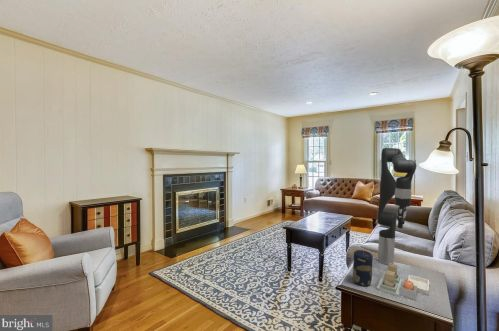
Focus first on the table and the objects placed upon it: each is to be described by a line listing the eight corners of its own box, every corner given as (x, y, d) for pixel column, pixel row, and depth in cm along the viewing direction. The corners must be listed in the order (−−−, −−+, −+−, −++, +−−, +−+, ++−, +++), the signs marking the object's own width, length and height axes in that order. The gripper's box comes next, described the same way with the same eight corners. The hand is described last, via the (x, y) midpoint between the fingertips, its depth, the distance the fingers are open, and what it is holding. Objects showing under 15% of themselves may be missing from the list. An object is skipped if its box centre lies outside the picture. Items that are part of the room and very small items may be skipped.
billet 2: (385, 284, 132) (386, 270, 132) (394, 287, 130) (394, 272, 129) (384, 287, 129) (385, 273, 129) (392, 290, 127) (393, 275, 126)
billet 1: (388, 276, 141) (389, 262, 140) (396, 278, 139) (397, 265, 138) (387, 279, 138) (388, 265, 137) (395, 281, 135) (396, 267, 135)
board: (383, 275, 144) (383, 270, 144) (403, 281, 138) (403, 276, 138) (376, 289, 129) (377, 284, 129) (398, 296, 123) (399, 291, 123)
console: (401, 288, 131) (401, 281, 130) (416, 293, 126) (417, 286, 126) (399, 294, 125) (399, 287, 125) (415, 300, 121) (416, 292, 120)
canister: (372, 281, 138) (374, 250, 136) (369, 289, 130) (371, 256, 129) (354, 276, 143) (355, 246, 142) (350, 283, 135) (352, 251, 134)
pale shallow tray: (408, 278, 141) (408, 274, 141) (429, 284, 135) (429, 280, 135) (406, 289, 131) (406, 284, 130) (428, 295, 125) (428, 291, 125)
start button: (404, 290, 128) (404, 279, 128) (413, 293, 126) (413, 282, 126) (403, 294, 125) (403, 282, 125) (412, 297, 123) (413, 285, 122)
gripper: (396, 193, 141) (395, 221, 142) (392, 197, 129) (391, 227, 130) (412, 195, 136) (410, 224, 137) (409, 199, 125) (408, 230, 126)
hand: (401, 226), depth 134 cm, fingers open, 8 cm apart
